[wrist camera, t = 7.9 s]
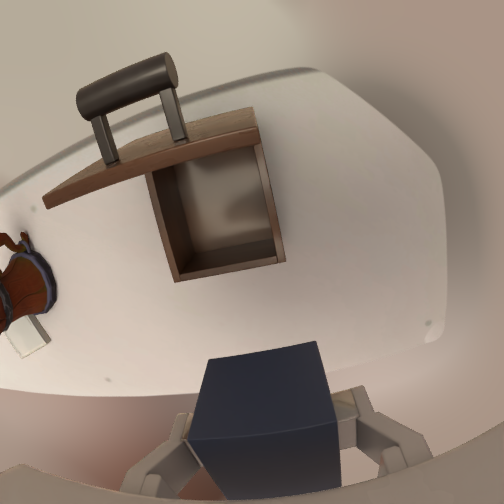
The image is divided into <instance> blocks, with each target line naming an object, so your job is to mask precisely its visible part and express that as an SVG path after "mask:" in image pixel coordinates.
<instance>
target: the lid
mask: <svg viewBox="0 0 504 504" xmlns="http://www.w3.org/2000/svg"><path fill="white" fill-rule="evenodd" d="M177 87H178V76H177V71H176V68H175V65H174V62H173V60H172V58H171V56H170V55H169V53H167V52H165V53H162V54H159V55H156V56H153V57H150V58H148V59H145V60H143V61H140V62H138V63H135V64H133V65H130V66H128V67H125V68H123V69H121V70H118V71H116V72H114V73H112V74H110V75H108V76H106V77H103V78H101V79H99V80H97V81H95V82H93V83H91V84H89V85H87V86H85V87H83V88H81V89H79V91H78V92H77V95H76V104H77V108H78V110H79V112H80V114H81V116H82V117H83V118H84V119H85V120H87V121H91V123H92V127H93V130H94V133H95V137H96V140H97V143H98V146H99V149H100V152H101V155H102V158H101V159H100V160H98V161H96V162H95V163H93V164H91V165H90V166H88V167H86V168H85V169H83V170H82V171H80V172H78V173H77V174H75V175H74V176H72V177H70V178H69V179H67V180H66V181H64V182H63V183H61V184H60V185H58V186H57V187H55V188H54V189H53V190H51V191H50V192H48V193H47V194H45V195H44V196H43V197H42V199H43V202H44V204H45V206H46V209H51V208H53V207H55V206H58V205H60V204H63V203H65V202H68V201H70V200H73V199H75V198H78V197H80V196H83V195H85V194H88V193H91V192H93V191H96V190H99V189H102V188H104V187H107V186H110V185H113V184H116V183H119V182H122V181H125V180H128V179H131V178H134V177H137V176H140V175H143V174H146V173H149V172H153V171H156V170H159V169H162V168H166V167H169V166H173V165H176V164H180V163H183V162H187V161H190V160H194V159H198V158H202V157H206V156H209V155H213V154H217V153H221V152H226V151H230V150H234V149H238V148H243V147H247V146H252V145H257V144H260V143H261V138H260V134H259V129H258V125H257V121H256V117H255V113H254V109H253V107H248V108H243V109H239V110H234V111H230V112H226V113H222V114H218V115H214V116H210V117H207V118H203V119H199V120H196V121H192V122H189V123H185V122H184V119H183V115H182V112H181V108H180V104H179V101H178V97H177V94H176V90H175V88H177ZM157 94H159V95H160V98H161V102H162V106H163V109H164V113H165V116H166V120H167V123H168V126H169V129H166V130H162V131H159V132H156V133H153V134H150V135H147V136H145V137H142V138H139V139H136V140H134V141H132V142H130V143H128V144H126V145H125V146H123V147H121V148H119V149H117V148H116V145H115V142H114V139H113V136H112V133H111V130H110V127H109V123H108V120H107V117H106V114H108V113H111V112H113V111H115V110H118V109H120V108H123V107H125V106H127V105H130V104H133V103H135V102H138V101H140V100H143V99H146V98H149V97H151V96H154V95H157Z"/></svg>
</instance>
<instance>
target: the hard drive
mask: <svg viewBox="0 0 504 504" xmlns="http://www.w3.org/2000/svg"><path fill="white" fill-rule="evenodd" d="M3 333H4V334H5V336H6V337H7V339H8V340H9V342H10V343H11V345H12V346H13V348H14V349H15V351H16V352H17V354H18V355H19V356H20V358H21V359H23V358H25V357H26V356H28V355H30V354H32V353H33V352H35V351H37V350H38V349H40V348H42V347H43V346H45V345H47V344H48V343H49V342H50V341H51V340H50V338H49V337H48V335H47V334H46V332H45V331H44V329H43V328H42V326H41V325H40V323H39V322H38V320H37V318H36V317H35V315H33V314H31V315H25V316H23V317H21V318H19V319H17V320H16V321H14V322H12V323H11V324H10V326H9V328H8V330H7V331H5V332H3Z"/></svg>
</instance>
